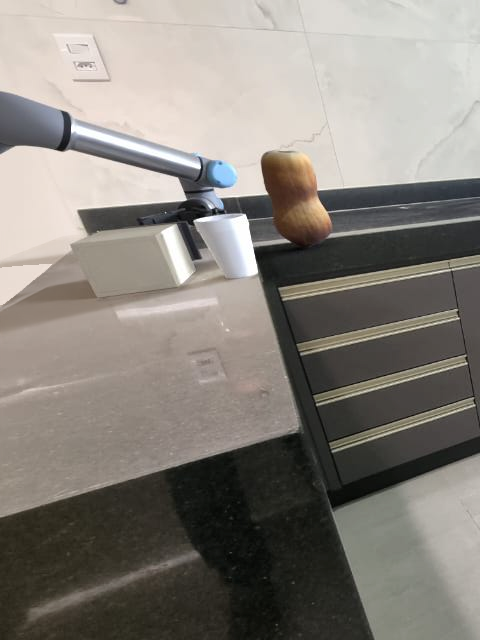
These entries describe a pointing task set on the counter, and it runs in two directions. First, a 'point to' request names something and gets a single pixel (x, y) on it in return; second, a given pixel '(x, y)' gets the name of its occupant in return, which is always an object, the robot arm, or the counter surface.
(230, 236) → the foam cup
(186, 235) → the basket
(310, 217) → the butternut squash
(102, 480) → the counter surface
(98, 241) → the beige rounded box
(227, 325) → the counter surface
